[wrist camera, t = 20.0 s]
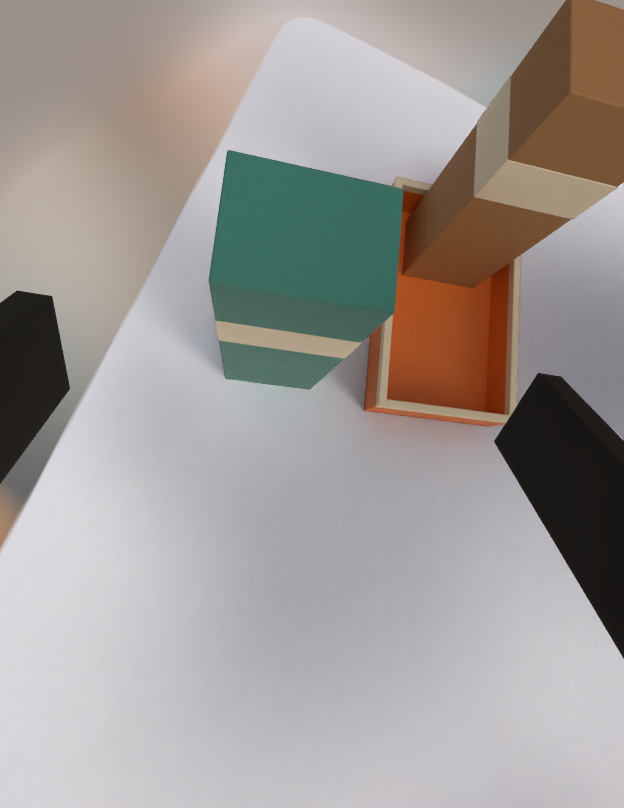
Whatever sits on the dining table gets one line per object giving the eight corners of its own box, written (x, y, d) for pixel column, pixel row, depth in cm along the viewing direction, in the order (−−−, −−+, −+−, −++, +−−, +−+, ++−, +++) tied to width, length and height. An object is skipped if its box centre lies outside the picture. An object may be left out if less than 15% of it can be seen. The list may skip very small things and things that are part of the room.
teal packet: (316, 328, 29) (405, 187, 14) (310, 390, 29) (395, 314, 13) (233, 315, 28) (226, 147, 13) (224, 378, 28) (207, 282, 12)
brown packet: (476, 235, 32) (697, 32, 17) (473, 289, 32) (701, 129, 16) (405, 220, 31) (570, -10, 16) (401, 275, 31) (569, 91, 15)
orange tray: (495, 228, 33) (522, 205, 30) (488, 426, 31) (516, 423, 28) (380, 203, 32) (396, 176, 29) (363, 411, 29) (378, 405, 26)
